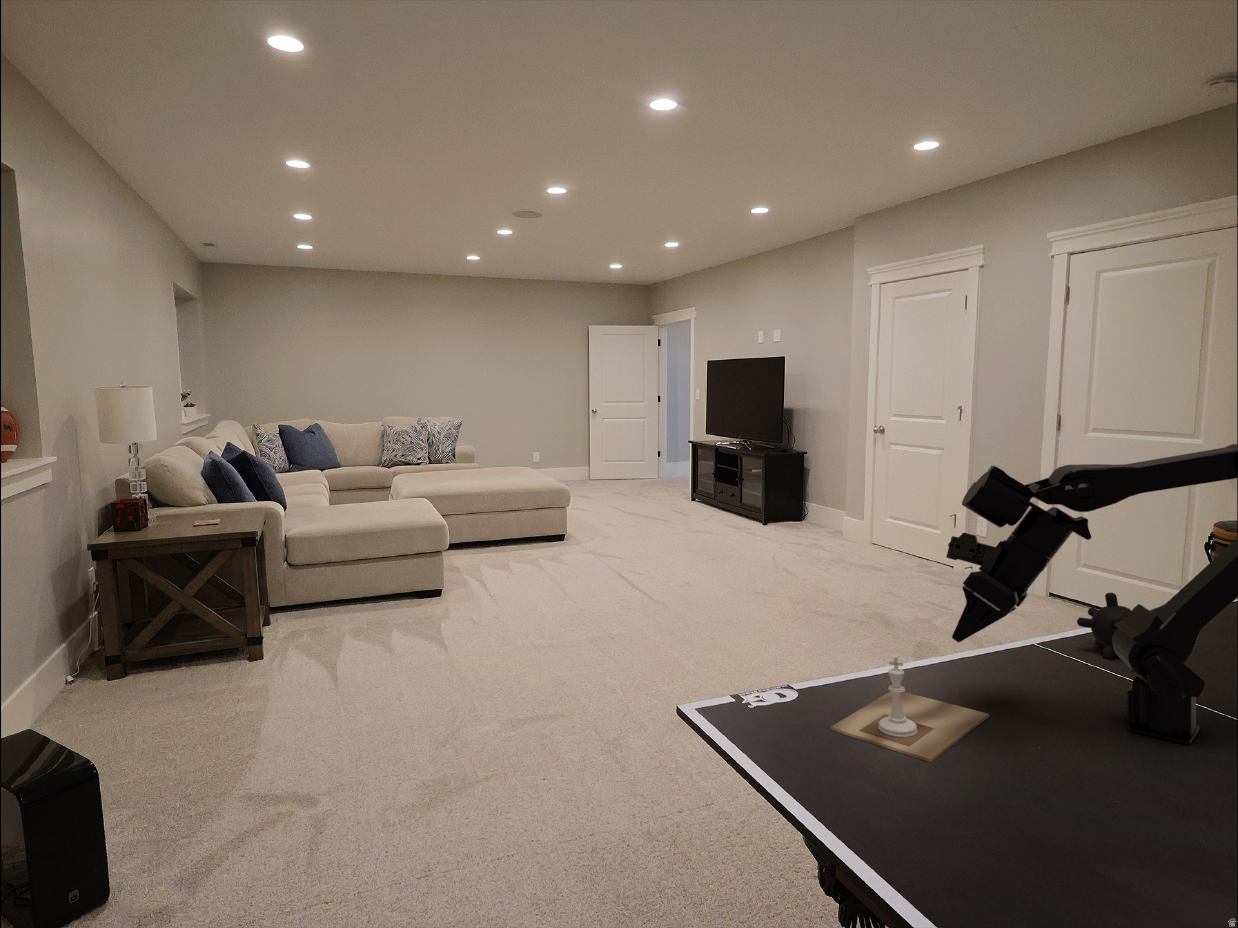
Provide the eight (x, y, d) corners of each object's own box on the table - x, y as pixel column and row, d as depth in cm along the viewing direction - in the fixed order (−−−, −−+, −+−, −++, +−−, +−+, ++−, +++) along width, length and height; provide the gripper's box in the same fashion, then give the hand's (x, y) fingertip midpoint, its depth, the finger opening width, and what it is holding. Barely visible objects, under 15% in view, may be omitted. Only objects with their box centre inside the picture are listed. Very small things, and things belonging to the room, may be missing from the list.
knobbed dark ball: (1106, 651, 116) (1052, 613, 127) (1136, 685, 119) (1081, 646, 130) (1157, 606, 114) (1098, 572, 126) (1187, 642, 118) (1127, 606, 129)
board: (988, 716, 101) (988, 713, 101) (930, 762, 89) (930, 758, 89) (894, 691, 111) (894, 688, 111) (830, 729, 99) (830, 726, 99)
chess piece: (912, 740, 94) (910, 665, 93) (873, 732, 97) (871, 659, 96) (921, 726, 98) (919, 654, 97) (884, 718, 101) (882, 648, 100)
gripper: (983, 515, 109) (922, 597, 113) (965, 509, 94) (895, 604, 97) (1055, 560, 103) (989, 644, 107) (1048, 561, 88) (971, 659, 91)
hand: (960, 636), depth 101 cm, fingers open, 9 cm apart
